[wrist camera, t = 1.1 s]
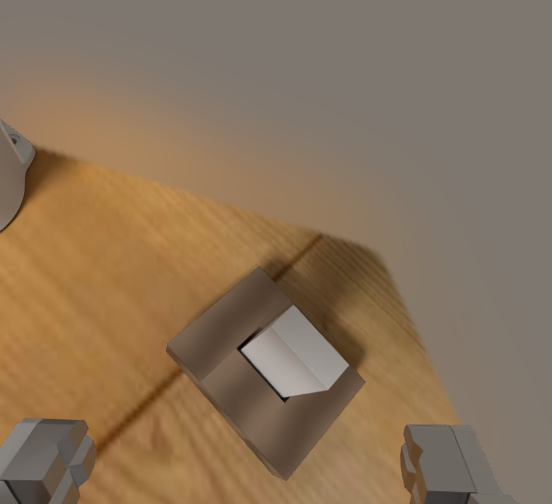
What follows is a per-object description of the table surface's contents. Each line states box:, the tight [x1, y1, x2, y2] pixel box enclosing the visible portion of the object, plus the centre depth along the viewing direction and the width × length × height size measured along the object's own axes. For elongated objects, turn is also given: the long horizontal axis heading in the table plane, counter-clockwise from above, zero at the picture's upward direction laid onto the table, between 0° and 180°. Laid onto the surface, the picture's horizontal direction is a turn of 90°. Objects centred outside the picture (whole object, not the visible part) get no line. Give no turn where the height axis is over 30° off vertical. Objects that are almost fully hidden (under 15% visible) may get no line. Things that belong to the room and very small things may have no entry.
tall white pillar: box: [239, 305, 349, 398], centre depth 35 cm, size 6×2×14 cm, turn 45°
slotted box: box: [166, 266, 366, 481], centre depth 40 cm, size 16×12×4 cm
